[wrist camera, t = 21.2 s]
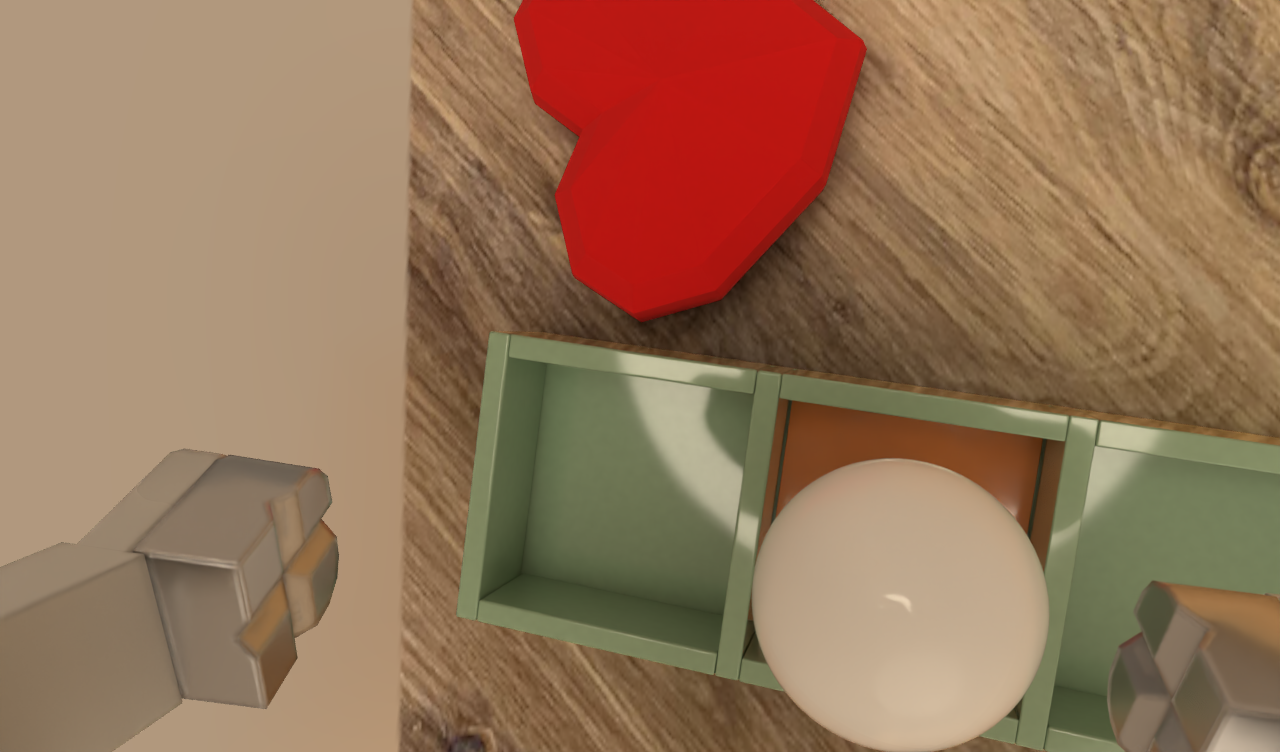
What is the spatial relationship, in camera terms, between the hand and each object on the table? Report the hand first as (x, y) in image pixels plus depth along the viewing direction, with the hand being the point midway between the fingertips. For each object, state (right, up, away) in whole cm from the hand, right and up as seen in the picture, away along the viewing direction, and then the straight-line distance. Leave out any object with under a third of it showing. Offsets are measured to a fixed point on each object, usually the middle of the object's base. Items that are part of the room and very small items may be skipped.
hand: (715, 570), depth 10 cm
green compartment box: (+7, -3, +20) cm, 21 cm away
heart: (+2, +10, +21) cm, 24 cm away
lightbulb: (+7, -3, +20) cm, 21 cm away
